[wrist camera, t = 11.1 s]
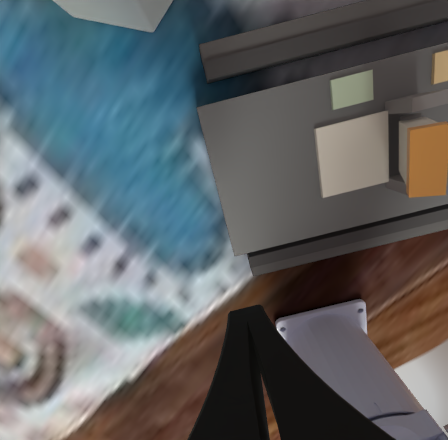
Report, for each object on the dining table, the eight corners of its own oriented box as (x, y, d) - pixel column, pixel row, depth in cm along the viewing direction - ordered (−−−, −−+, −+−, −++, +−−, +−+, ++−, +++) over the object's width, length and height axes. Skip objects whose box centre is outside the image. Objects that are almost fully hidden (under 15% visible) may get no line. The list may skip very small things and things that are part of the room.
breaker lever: (421, 168, 16) (445, 197, 12) (395, 171, 17) (408, 199, 13) (424, 111, 15) (450, 120, 11) (395, 116, 16) (410, 128, 11)
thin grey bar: (518, 201, 21) (542, 207, 19) (250, 267, 21) (253, 277, 20) (521, 179, 20) (547, 183, 18) (245, 247, 20) (249, 257, 19)
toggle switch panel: (590, 155, 20) (687, 162, 16) (232, 244, 20) (238, 273, 16) (633, -4, 16) (770, -46, 12) (197, 109, 17) (194, 104, 13)
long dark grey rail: (554, -8, 16) (591, -22, 14) (207, 83, 16) (207, 79, 15) (561, -45, 15) (600, -63, 14) (199, 51, 16) (199, 43, 14)
